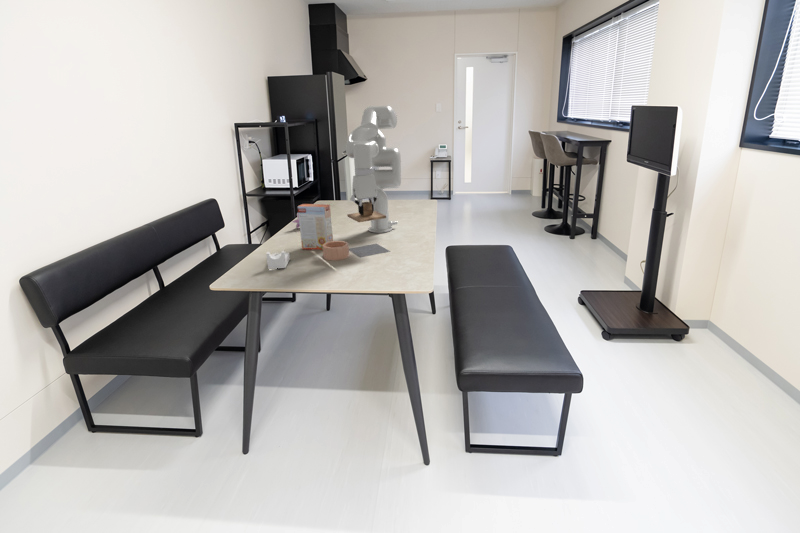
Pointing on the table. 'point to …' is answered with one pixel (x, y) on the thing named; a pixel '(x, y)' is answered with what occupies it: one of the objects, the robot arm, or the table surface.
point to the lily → (297, 221)
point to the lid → (366, 214)
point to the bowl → (336, 250)
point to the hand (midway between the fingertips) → (366, 213)
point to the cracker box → (315, 225)
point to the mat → (368, 250)
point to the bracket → (277, 260)
